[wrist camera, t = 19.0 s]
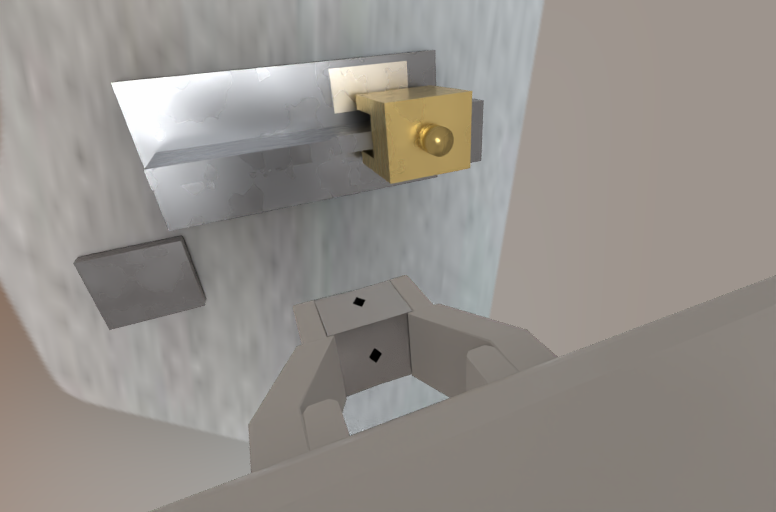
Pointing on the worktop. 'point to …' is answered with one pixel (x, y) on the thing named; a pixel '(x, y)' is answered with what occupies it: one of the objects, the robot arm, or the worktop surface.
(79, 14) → the worktop surface
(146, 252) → the thin grey square plate
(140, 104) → the rail
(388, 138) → the gold knobbed block
